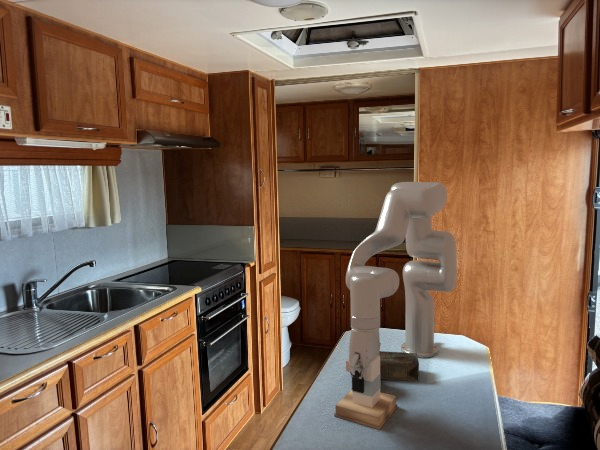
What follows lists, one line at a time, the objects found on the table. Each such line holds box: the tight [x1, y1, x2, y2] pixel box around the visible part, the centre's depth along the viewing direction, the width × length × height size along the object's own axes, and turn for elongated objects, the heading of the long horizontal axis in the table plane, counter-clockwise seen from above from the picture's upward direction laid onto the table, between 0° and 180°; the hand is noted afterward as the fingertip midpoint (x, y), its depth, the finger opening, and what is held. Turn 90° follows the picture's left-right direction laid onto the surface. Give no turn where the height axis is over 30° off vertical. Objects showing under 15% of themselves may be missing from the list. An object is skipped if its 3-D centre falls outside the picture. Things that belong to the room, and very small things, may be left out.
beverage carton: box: [379, 350, 420, 382], centre depth 146 cm, size 8×19×7 cm, turn 81°
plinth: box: [333, 389, 398, 430], centre depth 125 cm, size 13×13×3 cm
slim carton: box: [351, 355, 382, 408], centre depth 124 cm, size 6×6×13 cm
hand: (366, 383), depth 124 cm, fingers open, 9 cm apart
